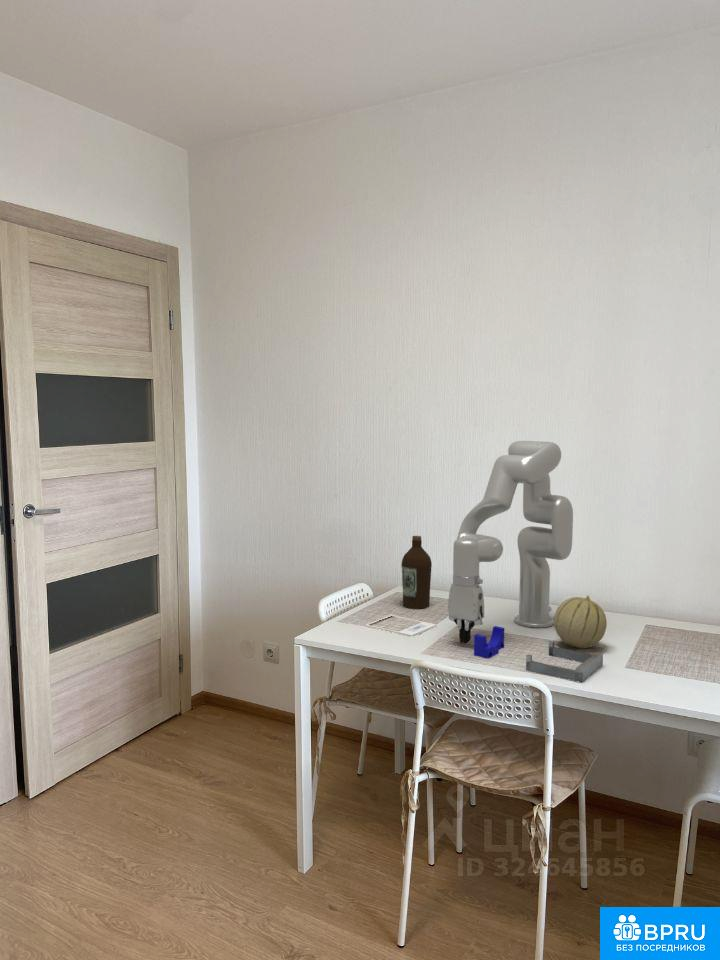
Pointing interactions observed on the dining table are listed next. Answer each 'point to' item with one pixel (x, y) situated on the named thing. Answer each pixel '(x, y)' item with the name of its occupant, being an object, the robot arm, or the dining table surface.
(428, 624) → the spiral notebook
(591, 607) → the cantaloupe
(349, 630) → the dining table surface
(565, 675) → the frame
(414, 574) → the olive oil
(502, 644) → the cable clip
